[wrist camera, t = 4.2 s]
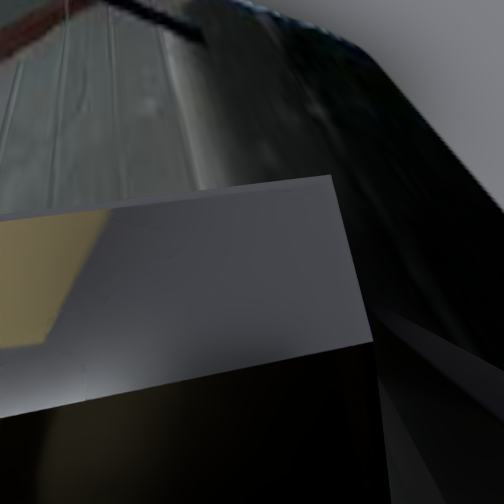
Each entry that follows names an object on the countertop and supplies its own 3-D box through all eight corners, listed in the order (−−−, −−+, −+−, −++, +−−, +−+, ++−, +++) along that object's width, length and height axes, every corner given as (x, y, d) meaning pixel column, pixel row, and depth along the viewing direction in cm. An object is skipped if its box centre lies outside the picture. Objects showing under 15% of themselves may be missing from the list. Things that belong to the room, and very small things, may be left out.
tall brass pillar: (290, 387, 13) (544, 1010, 1) (212, 394, 13) (-372, 1004, 1) (279, 306, 15) (330, 175, 3) (210, 313, 15) (-50, 219, 3)
